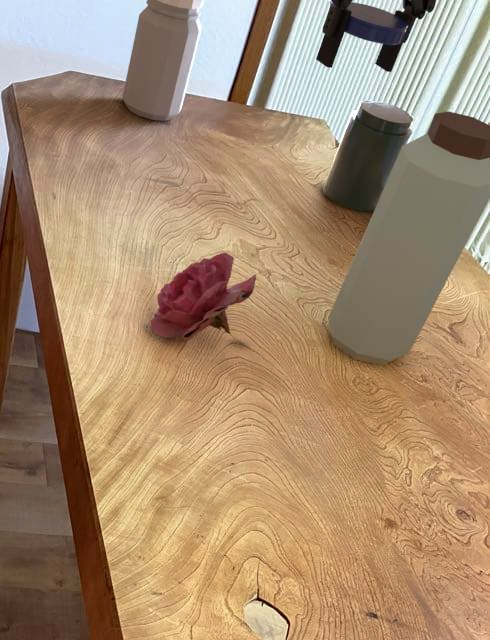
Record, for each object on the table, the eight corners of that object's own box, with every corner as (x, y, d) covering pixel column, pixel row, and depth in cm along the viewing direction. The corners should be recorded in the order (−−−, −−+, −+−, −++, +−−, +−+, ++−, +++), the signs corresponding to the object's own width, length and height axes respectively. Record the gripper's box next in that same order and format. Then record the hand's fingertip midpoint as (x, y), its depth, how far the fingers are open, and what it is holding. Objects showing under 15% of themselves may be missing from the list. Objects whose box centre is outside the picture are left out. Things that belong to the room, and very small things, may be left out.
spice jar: (391, 211, 134) (430, 125, 125) (344, 212, 130) (380, 124, 122) (357, 183, 139) (392, 99, 131) (311, 183, 136) (343, 97, 127)
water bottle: (307, 320, 105) (398, 100, 88) (377, 320, 109) (478, 108, 91) (348, 370, 99) (455, 144, 82) (421, 368, 102) (539, 151, 85)
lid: (318, 15, 115) (323, -2, 114) (375, 21, 119) (381, 5, 117) (358, 42, 110) (364, 25, 108) (416, 47, 113) (423, 31, 112)
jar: (191, 122, 145) (223, -2, 132) (141, 123, 140) (170, -5, 127) (158, 97, 150) (186, -24, 137) (109, 98, 145) (134, -28, 133)
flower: (138, 363, 98) (125, 269, 95) (198, 348, 104) (186, 259, 102) (218, 357, 90) (205, 253, 87) (278, 341, 96) (268, 244, 93)
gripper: (481, -139, 108) (400, 59, 124) (338, -168, 99) (270, 49, 115) (523, -123, 103) (434, 81, 119) (377, -152, 95) (301, 72, 110)
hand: (353, 65), depth 117 cm, fingers closed on lid, 9 cm apart
